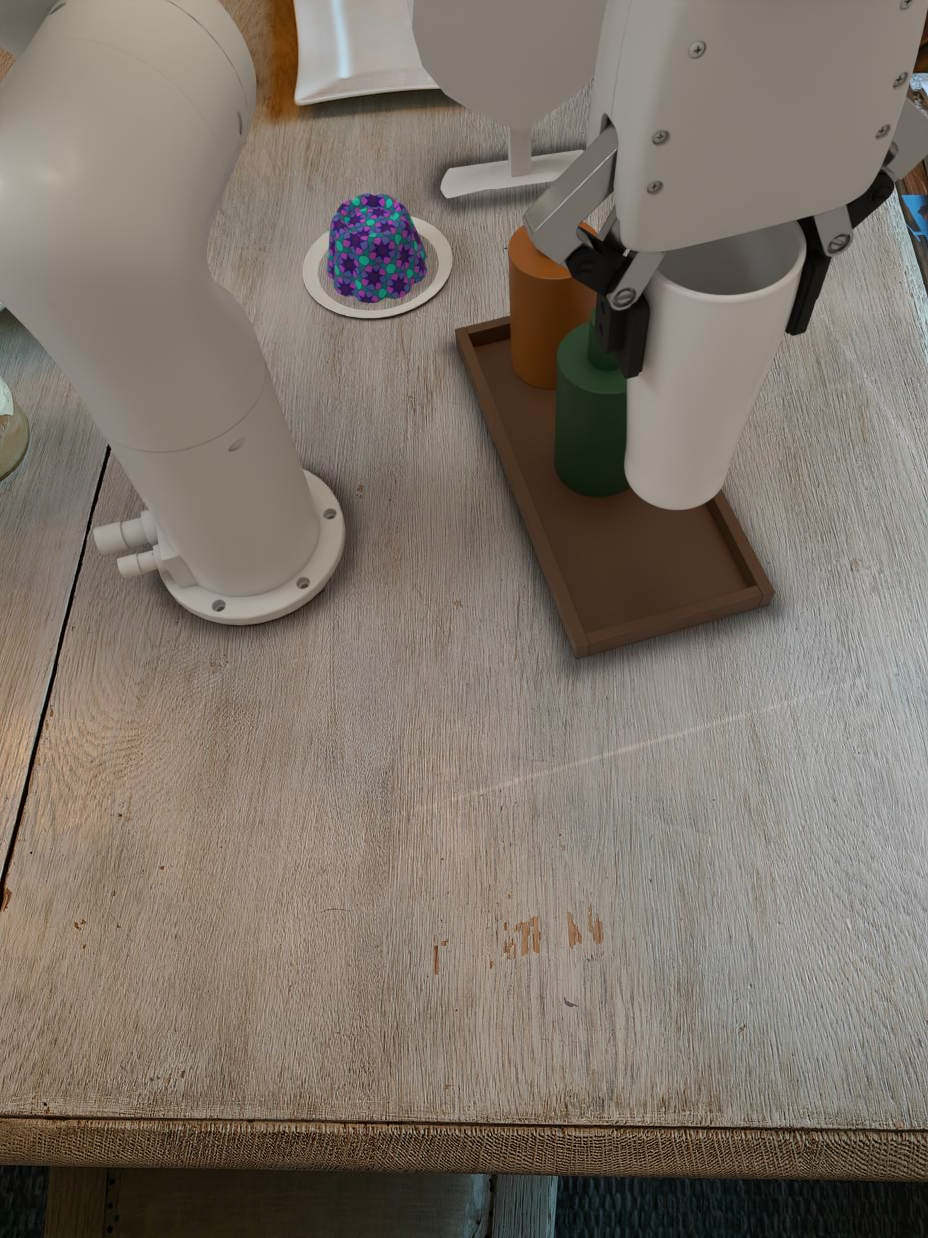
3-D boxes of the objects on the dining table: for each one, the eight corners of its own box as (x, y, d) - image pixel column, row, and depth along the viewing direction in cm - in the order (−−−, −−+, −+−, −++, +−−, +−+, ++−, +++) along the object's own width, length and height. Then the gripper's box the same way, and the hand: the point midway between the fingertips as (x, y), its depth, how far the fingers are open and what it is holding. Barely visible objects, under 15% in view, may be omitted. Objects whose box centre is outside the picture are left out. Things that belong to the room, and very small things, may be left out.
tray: (575, 662, 58) (576, 647, 57) (456, 348, 72) (454, 328, 70) (768, 608, 59) (775, 591, 58) (615, 308, 73) (617, 287, 71)
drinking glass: (727, 420, 52) (790, 177, 39) (749, 522, 49) (827, 293, 36) (603, 429, 53) (625, 190, 40) (616, 531, 49) (645, 307, 36)
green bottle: (570, 507, 64) (577, 367, 52) (542, 439, 66) (544, 293, 55) (655, 484, 64) (681, 340, 53) (624, 418, 67) (642, 268, 56)
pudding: (476, 295, 74) (472, 239, 70) (330, 344, 73) (316, 290, 68) (422, 204, 80) (415, 146, 76) (286, 247, 79) (271, 191, 74)
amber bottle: (525, 398, 68) (523, 248, 57) (501, 340, 71) (494, 187, 60) (605, 377, 69) (618, 225, 57) (578, 320, 72) (585, 165, 60)
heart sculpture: (604, 146, 82) (620, -92, 66) (616, 183, 80) (636, -54, 64) (426, 171, 82) (400, -60, 66) (432, 209, 80) (407, -22, 64)
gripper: (1011, -258, 29) (846, 233, 45) (462, -140, 28) (489, 323, 43) (1165, -148, 25) (926, 345, 41) (541, -7, 24) (539, 447, 40)
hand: (702, 331), depth 42 cm, fingers closed on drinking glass, 6 cm apart
